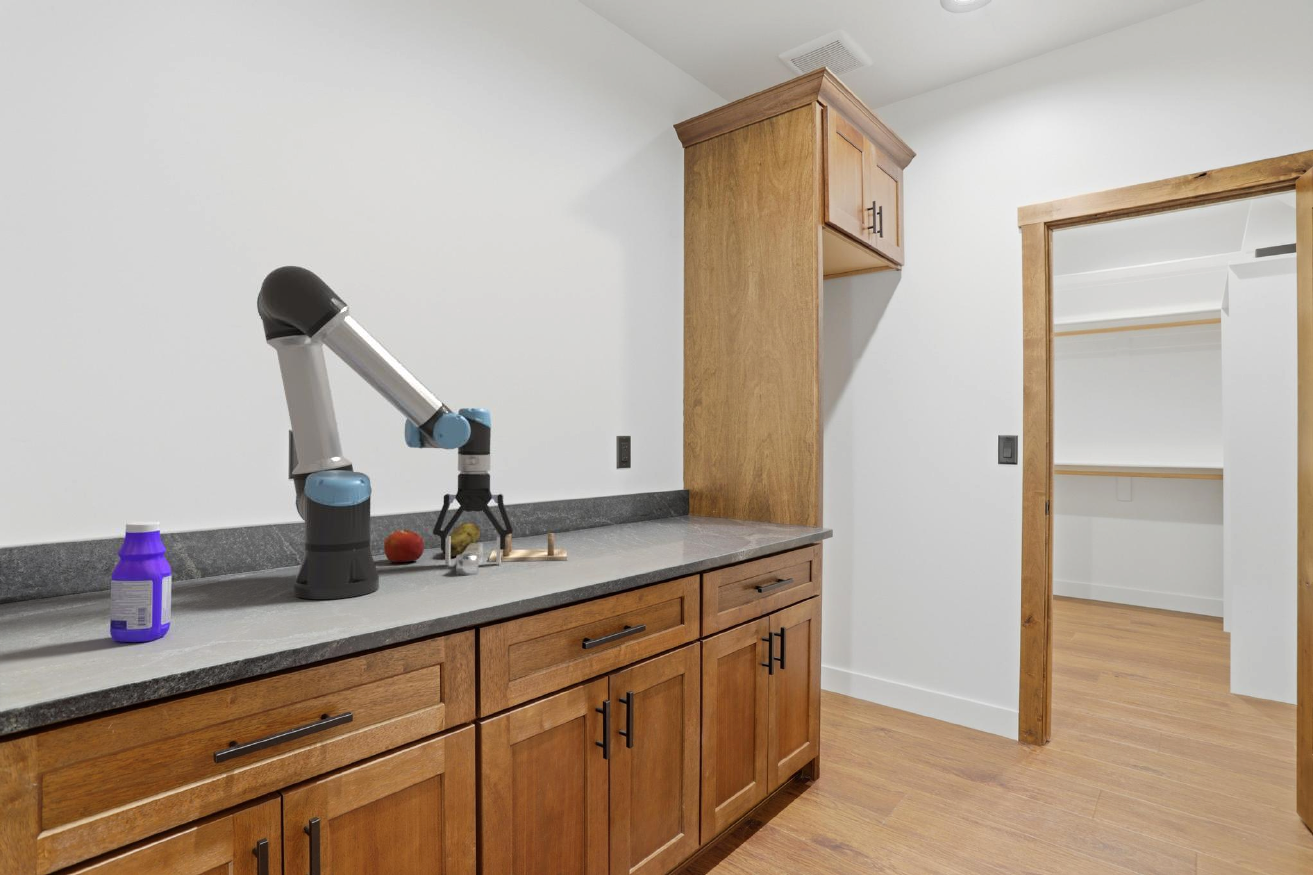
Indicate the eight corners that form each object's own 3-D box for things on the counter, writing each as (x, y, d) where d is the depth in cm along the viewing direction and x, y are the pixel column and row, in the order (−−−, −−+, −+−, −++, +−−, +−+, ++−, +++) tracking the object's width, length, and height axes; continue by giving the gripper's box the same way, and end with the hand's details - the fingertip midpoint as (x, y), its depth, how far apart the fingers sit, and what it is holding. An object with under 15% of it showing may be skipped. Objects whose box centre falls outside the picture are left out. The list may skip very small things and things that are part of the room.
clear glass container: (466, 559, 167) (466, 541, 167) (486, 558, 168) (486, 541, 168) (454, 575, 146) (454, 555, 146) (477, 575, 147) (477, 555, 147)
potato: (428, 556, 170) (429, 525, 170) (468, 549, 181) (468, 520, 181) (450, 559, 166) (450, 527, 166) (489, 552, 176) (489, 522, 176)
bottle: (178, 632, 102) (180, 520, 102) (152, 644, 97) (153, 524, 97) (130, 632, 102) (131, 519, 102) (100, 644, 96) (102, 524, 96)
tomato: (378, 561, 163) (378, 528, 163) (414, 557, 169) (415, 525, 169) (392, 567, 156) (392, 533, 156) (430, 562, 162) (430, 529, 162)
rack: (489, 561, 163) (489, 539, 163) (492, 554, 174) (493, 533, 174) (566, 560, 166) (567, 538, 166) (565, 552, 177) (566, 532, 177)
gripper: (420, 473, 154) (419, 567, 154) (523, 473, 158) (522, 565, 157) (426, 471, 161) (425, 561, 161) (524, 471, 165) (523, 559, 165)
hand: (473, 563), depth 159 cm, fingers open, 11 cm apart
